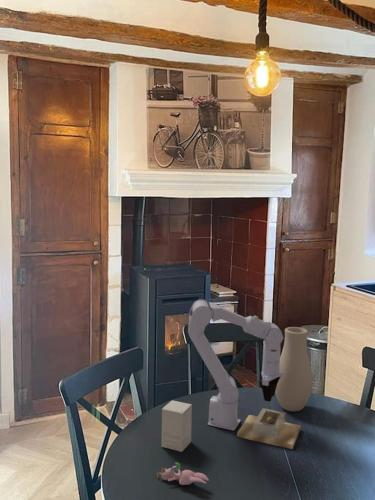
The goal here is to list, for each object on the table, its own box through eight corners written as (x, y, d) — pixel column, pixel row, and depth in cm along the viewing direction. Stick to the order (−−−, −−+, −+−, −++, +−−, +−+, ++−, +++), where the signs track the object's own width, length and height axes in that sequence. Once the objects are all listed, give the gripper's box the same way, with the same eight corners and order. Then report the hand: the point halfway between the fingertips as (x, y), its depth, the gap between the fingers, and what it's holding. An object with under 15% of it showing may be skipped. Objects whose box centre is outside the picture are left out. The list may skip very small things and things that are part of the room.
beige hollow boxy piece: (253, 434, 165) (253, 422, 164) (262, 419, 176) (262, 408, 175) (277, 440, 162) (278, 428, 161) (285, 423, 173) (286, 412, 172)
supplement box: (191, 441, 162) (192, 404, 161) (181, 452, 156) (182, 413, 154) (171, 436, 165) (172, 399, 164) (160, 446, 159) (161, 408, 157)
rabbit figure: (154, 486, 141) (203, 494, 134) (151, 465, 140) (200, 472, 133) (165, 474, 146) (213, 481, 139) (163, 454, 146) (210, 460, 139)
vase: (272, 399, 196) (276, 323, 192) (308, 402, 194) (313, 325, 190) (273, 415, 183) (277, 334, 178) (312, 418, 181) (317, 336, 177)
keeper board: (237, 436, 166) (237, 420, 166) (249, 418, 179) (249, 403, 178) (292, 449, 160) (293, 432, 159) (300, 429, 172) (301, 414, 172)
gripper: (278, 369, 164) (275, 408, 166) (287, 355, 178) (285, 392, 179) (256, 365, 167) (254, 404, 169) (267, 352, 180) (265, 388, 182)
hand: (269, 398), depth 174 cm, fingers open, 4 cm apart
